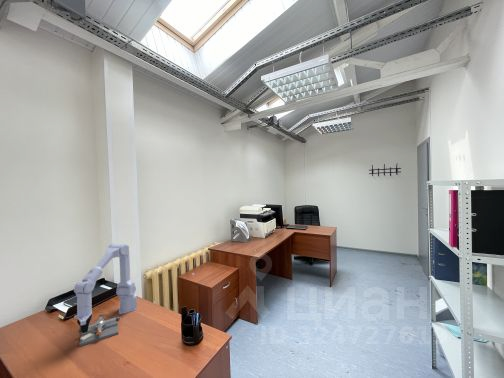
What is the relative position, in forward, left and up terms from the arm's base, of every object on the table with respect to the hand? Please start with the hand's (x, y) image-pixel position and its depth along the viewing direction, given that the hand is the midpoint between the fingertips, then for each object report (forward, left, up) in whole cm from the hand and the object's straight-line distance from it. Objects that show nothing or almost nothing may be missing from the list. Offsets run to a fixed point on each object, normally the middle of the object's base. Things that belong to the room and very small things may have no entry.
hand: (84, 331), depth 107 cm
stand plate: (-6, -5, -5) cm, 9 cm away
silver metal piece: (-6, -4, -3) cm, 8 cm away
